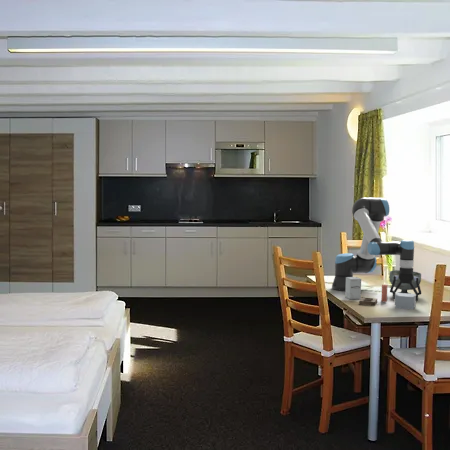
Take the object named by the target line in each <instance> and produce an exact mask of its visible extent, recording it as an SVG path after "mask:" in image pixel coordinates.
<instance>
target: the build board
mask: <svg viewBox="0 0 450 450" xmlns="http://www.w3.org/2000/svg"><path fill="white" fill-rule="evenodd" d="M358 300H359V301H358V305H362V306H373V307H375V306H376V305H377V303H378V298H375V297H373V298H372V297H362V296H361V299H358Z"/></svg>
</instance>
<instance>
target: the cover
mask: <svg viewBox="0 0 450 450" xmlns="http://www.w3.org/2000/svg"><path fill="white" fill-rule="evenodd" d="M396 293H397V294H396V298H395V299H394V308H395V309H404V310H405V309H407V310H414V308H415V307H414V295H416V294H415V293H411V294H408V293H409V292H408V293H398V292H396Z"/></svg>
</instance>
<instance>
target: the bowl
mask: <svg viewBox="0 0 450 450" xmlns="http://www.w3.org/2000/svg"><path fill="white" fill-rule="evenodd" d="M399 271H400V269H399V270H398V269H396V270H395V269H394V270H390V271H389V276H388V279H389V282H390V284H391V285H392V283H393V280H394V276H399ZM413 276H414V277H419V280H418V281H419V285H420V284H421V282H422V273H421V272H418V271H413ZM399 283H400V279H399V278H398V279H397V280H396V282H395V285H394V289H396V287H397V286H398V284H399ZM412 283H413V285H414V287H415V289H416V290H417V289H418V288H417V284H416V281H415V279H413V280H412ZM398 290H401V291H399V292H397V293H408V294H412V293H411V292H408V291H413V289H412V287H411V285H410V284H407V283H402V284H401V285H400V287H399V288H398Z"/></svg>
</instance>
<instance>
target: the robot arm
mask: <svg viewBox="0 0 450 450" xmlns="http://www.w3.org/2000/svg"><path fill="white" fill-rule="evenodd" d="M389 204H390V203H389V201H388V200H387V199H386V198H385V197H361V198H358V199H357V200H355V202H354V203H353V205H352V209H351V212H352V213H351V214H352V216H353V218H354V220H355V221H357V223H358V225H359V226H360V228H361V231H362V233H363V236H362V240H361V245H360V249H359V250H357V251H356V255H354V253H351V252H348V253H346V252H345V253H339V254H337V255H336V256H335V260H334V264H335V265H334V278H333V282H332V284H331V289H332V290H334V291H341V292H343V291H344V292H345V289H346V277H354V274H369V273H373V272H374V271H376V268H377V257H376V256H387V255H388V256H399V270H400V271H399V276H394V280H393V283H392V284H391V287H390V289H389V293H391V294H392V299H393V300H395V298H396V294H397V293H398V292H397V291H398V290H399V289H398V288H399V287H400V285H401V284H402V283H407V284H410V285H411V287H412V289H413V290H412V291H413V292H414V293H413V294H415V295H414V308H416V305H417V304H416V303H417V302H418V300H419V296H420V295H422V289H421V286H420V284H419V281H418V280H419V277H414V276H413V272H414V268H413V267H414V263H415V262H414V255H415V241H414V240H411V239H401V240H400V241H396V240H395V241H383V240H382V238H381V236H380V235H379V231H380V226H381V223H382V222H383V221H384V219H385V217H388V216H390V215H389V214H390V205H389ZM398 278H399V279H400V283H399V284H398V286H397V287H396V288H395V287H394V285H395V282H396V280H397V279H398ZM413 279H415V281H416V284H417V288H416V289H415V287H414V285H413V283H412V280H413Z"/></svg>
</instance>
